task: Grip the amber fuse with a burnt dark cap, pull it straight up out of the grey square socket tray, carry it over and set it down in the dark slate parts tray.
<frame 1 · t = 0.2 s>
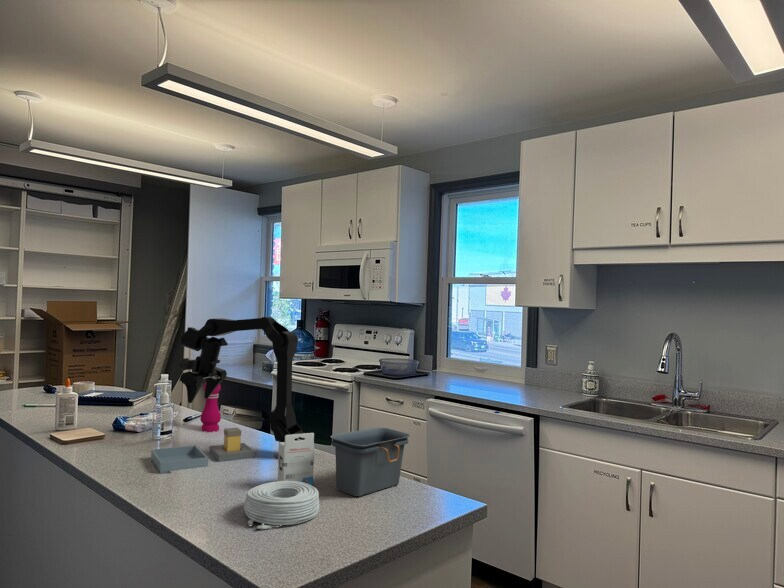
hand: (198, 400, 186), 15 cm above the counter, tool pointing down, fingers open, 9 cm apart
pepper mill: (210, 430, 208), on the counter
cable: (281, 515, 132), on the counter
storage bin: (371, 489, 152), on the counter
grey square socket tray: (231, 456, 176), on the counter
fuse: (231, 455, 176), resting on grey square socket tray
ink box: (294, 487, 151), on the counter
parts tray: (178, 463, 166), on the counter
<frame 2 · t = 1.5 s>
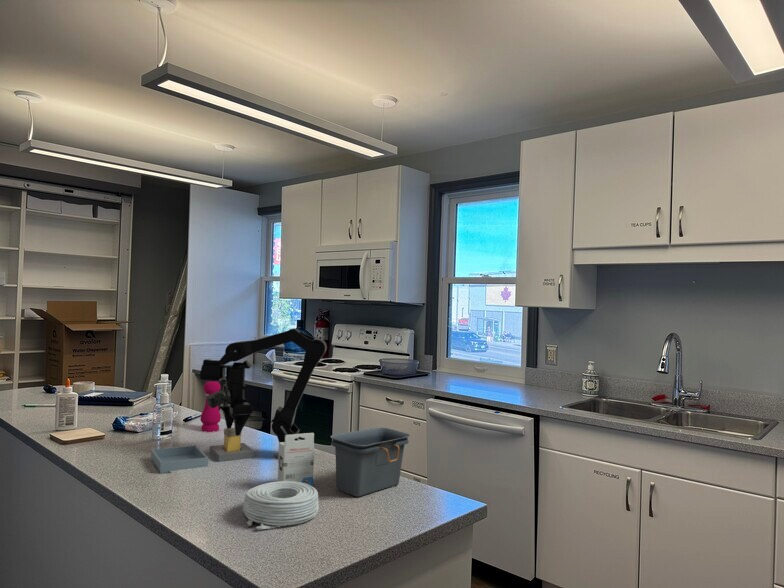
hand: (233, 432, 176), 8 cm above the counter, tool pointing down, fingers open, 9 cm apart
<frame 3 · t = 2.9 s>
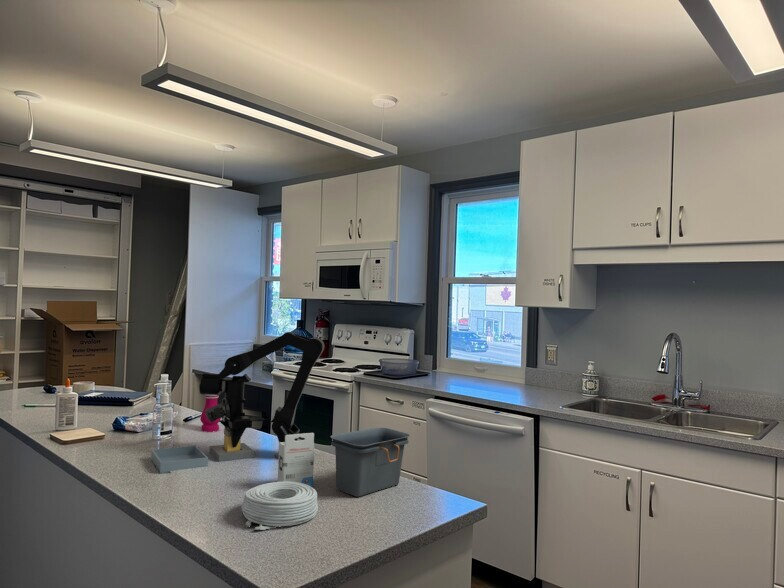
hand: (232, 445, 176), 4 cm above the counter, tool pointing down, fingers closed on fuse, 4 cm apart
fuse: (231, 455, 176), resting on grey square socket tray, touching gripper
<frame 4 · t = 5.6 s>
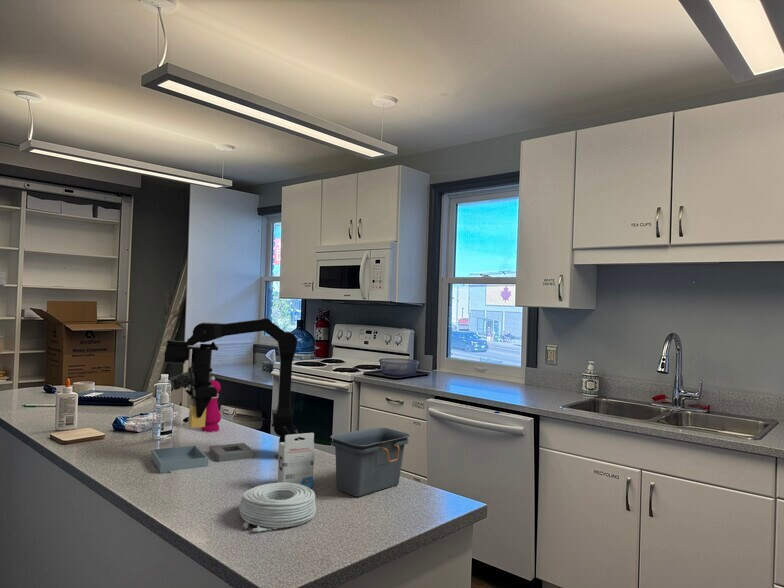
hand: (197, 415, 169), 14 cm above the counter, tool pointing down, fingers closed on fuse, 4 cm apart
fuse: (196, 425, 169), point 11 cm above the counter, touching gripper
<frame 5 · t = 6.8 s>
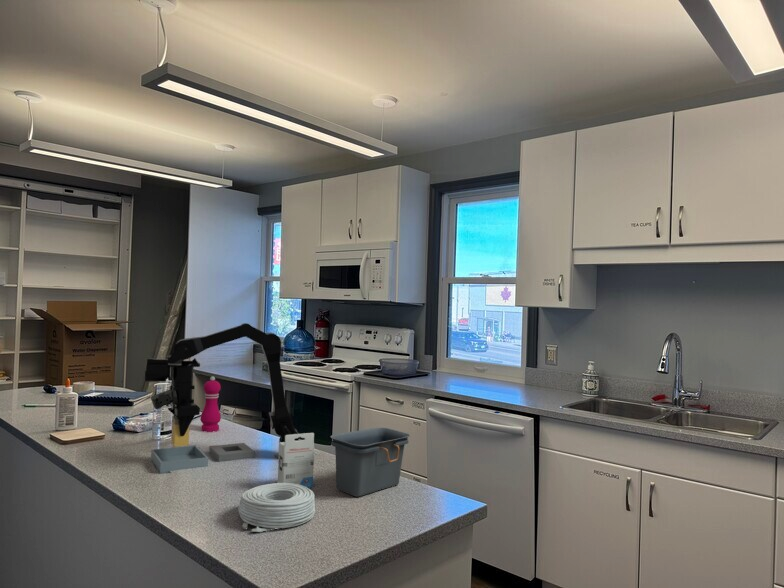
hand: (180, 434, 166), 9 cm above the counter, tool pointing down, fingers closed on fuse, 4 cm apart
fuse: (180, 444, 166), point 6 cm above the counter, touching gripper
when the fingers open (5 cm above the counter, at t = 8.1 s): fuse drops 2 cm, resting on parts tray.
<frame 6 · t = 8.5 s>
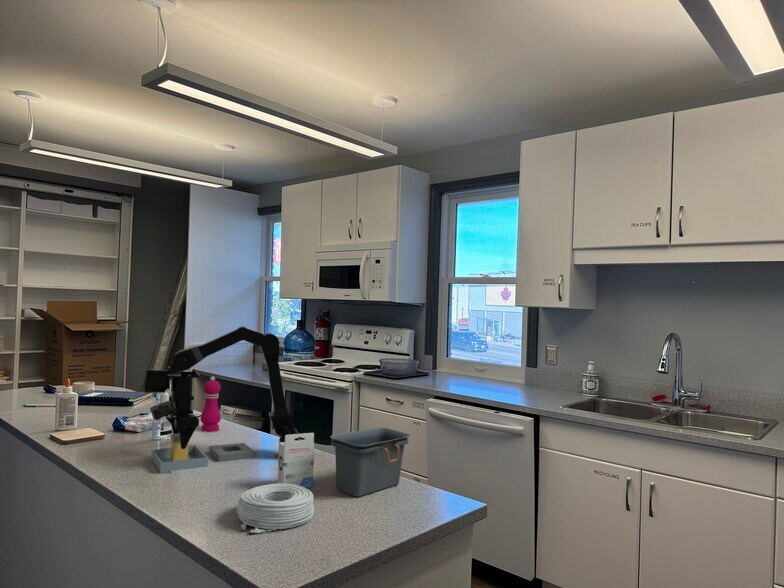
hand: (179, 445, 166), 5 cm above the counter, tool pointing down, fingers open, 9 cm apart
fuse: (178, 462, 166), resting on parts tray
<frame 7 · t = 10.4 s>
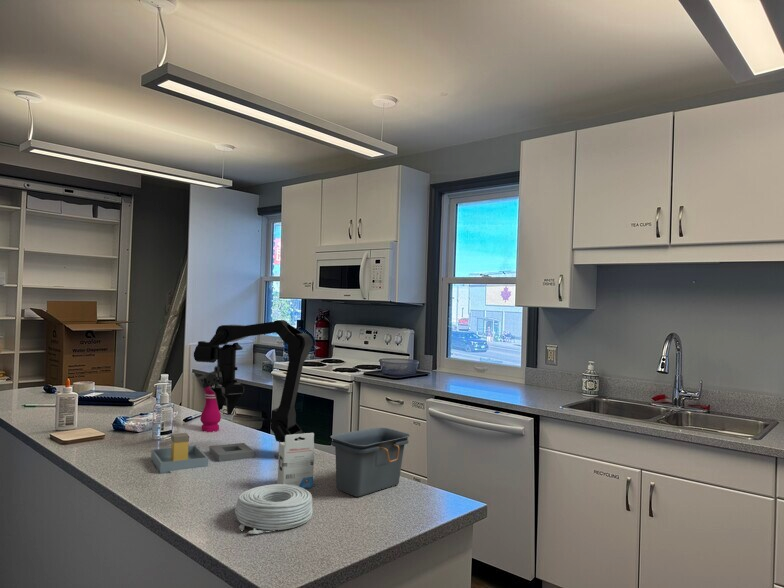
hand: (224, 411, 181), 13 cm above the counter, tool pointing down, fingers open, 9 cm apart
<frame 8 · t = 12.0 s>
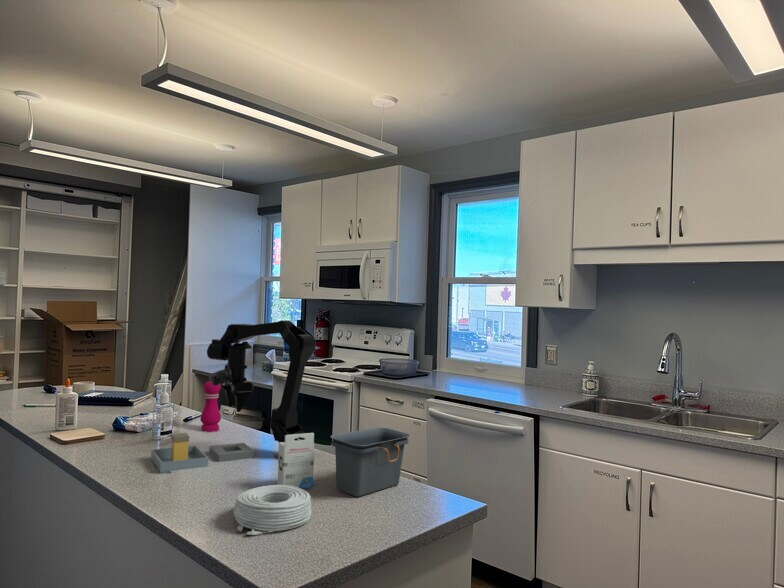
hand: (234, 409, 185), 13 cm above the counter, tool pointing down, fingers open, 9 cm apart
at the end: fuse inside the target area on the parts tray (0.0 cm from its centre), point 0.5 cm above the parts tray's base; fuse moved 16.0 cm from its start; the gripper is holding nothing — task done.
